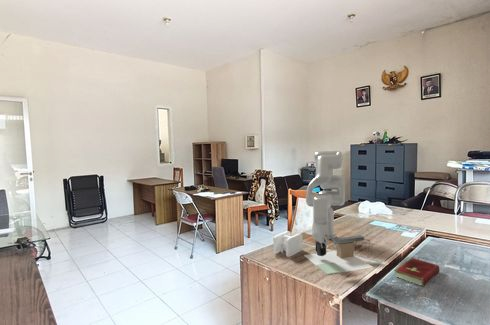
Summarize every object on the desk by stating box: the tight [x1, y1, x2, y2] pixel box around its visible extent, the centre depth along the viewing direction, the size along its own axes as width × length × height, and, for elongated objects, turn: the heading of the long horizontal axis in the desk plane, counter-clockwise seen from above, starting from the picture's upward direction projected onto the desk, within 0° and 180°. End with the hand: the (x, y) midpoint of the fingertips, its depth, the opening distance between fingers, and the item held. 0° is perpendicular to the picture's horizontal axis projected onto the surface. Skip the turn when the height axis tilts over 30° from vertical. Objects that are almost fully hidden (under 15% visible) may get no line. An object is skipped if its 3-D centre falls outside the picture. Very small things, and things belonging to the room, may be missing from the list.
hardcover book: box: [394, 257, 440, 287], centre depth 129 cm, size 12×21×4 cm, turn 128°
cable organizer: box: [272, 230, 304, 258], centre depth 157 cm, size 15×11×12 cm
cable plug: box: [316, 241, 324, 256], centre depth 145 cm, size 4×4×7 cm
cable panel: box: [303, 242, 373, 276], centre depth 143 cm, size 24×26×9 cm
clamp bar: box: [331, 235, 365, 245], centre depth 149 cm, size 3×18×2 cm, turn 105°
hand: (320, 252), depth 145 cm, fingers closed on cable plug, 4 cm apart
